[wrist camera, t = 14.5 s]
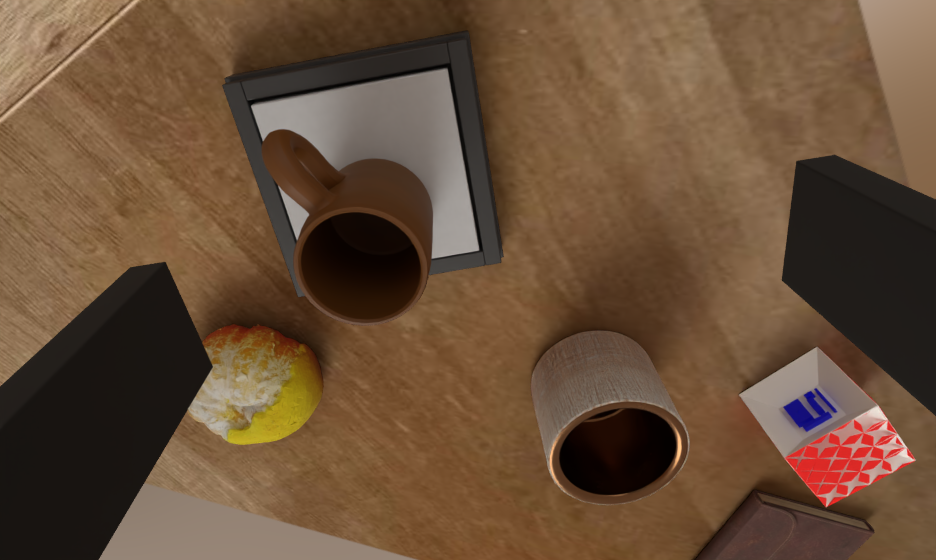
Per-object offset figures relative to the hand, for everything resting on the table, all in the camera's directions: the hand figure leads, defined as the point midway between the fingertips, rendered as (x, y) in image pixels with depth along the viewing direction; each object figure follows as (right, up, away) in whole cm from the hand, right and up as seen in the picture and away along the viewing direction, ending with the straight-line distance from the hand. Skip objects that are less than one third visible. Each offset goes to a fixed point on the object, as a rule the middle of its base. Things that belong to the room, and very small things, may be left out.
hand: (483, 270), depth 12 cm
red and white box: (+30, -11, +41) cm, 52 cm away
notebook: (+32, -32, +52) cm, 69 cm away
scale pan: (-7, +7, +27) cm, 29 cm away
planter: (+11, -9, +39) cm, 41 cm away
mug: (-8, +6, +26) cm, 28 cm away
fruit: (-18, -7, +37) cm, 42 cm away
